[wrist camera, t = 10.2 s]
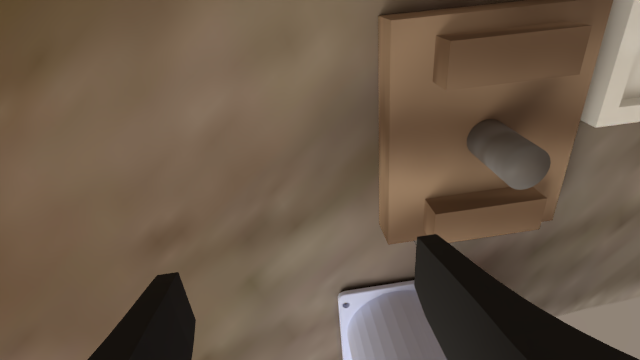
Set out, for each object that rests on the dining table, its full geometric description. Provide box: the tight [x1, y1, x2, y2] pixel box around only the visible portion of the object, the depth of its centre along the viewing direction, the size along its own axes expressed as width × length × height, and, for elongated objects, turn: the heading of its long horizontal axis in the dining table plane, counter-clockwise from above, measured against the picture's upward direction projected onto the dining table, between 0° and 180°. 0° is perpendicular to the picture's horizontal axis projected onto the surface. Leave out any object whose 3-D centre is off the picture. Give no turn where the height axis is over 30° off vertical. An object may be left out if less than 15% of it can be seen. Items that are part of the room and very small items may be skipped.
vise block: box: [378, 0, 613, 245], centre depth 19 cm, size 13×10×6 cm
